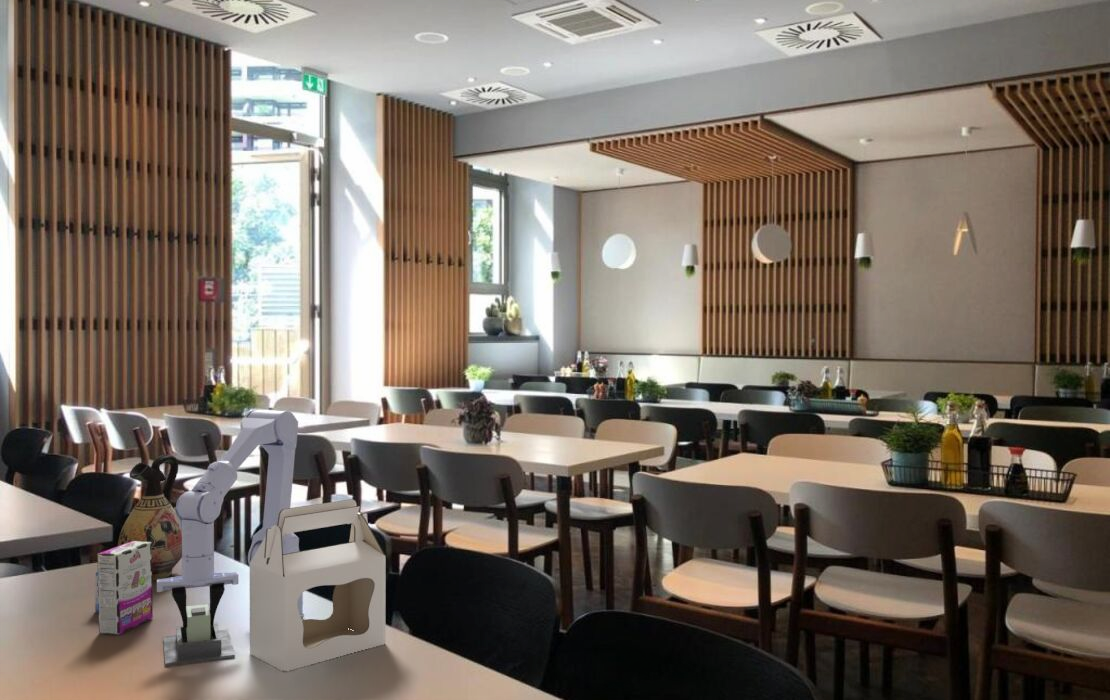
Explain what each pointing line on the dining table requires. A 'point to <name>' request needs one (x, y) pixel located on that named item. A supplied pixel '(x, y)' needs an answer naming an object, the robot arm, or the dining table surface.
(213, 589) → the robot arm
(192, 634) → the pale green block
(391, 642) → the dining table surface
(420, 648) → the dining table surface
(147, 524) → the ceramic jug
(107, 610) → the candy bar box
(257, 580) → the gable box
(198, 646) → the chassis
